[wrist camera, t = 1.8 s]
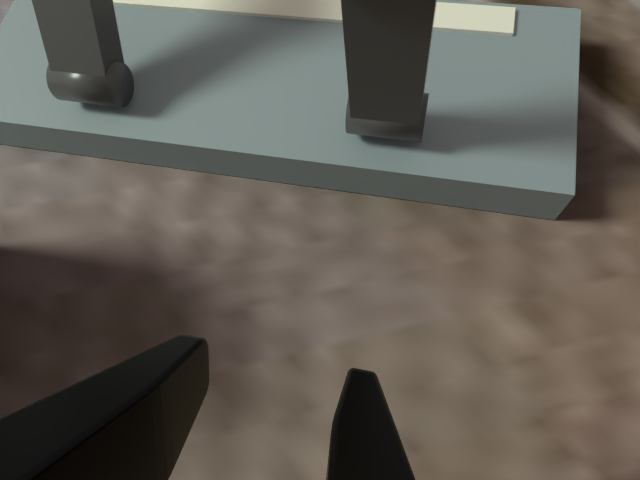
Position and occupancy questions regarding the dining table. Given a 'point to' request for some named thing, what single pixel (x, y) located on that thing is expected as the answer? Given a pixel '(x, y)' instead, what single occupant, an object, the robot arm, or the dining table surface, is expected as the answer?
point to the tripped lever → (387, 66)
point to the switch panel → (319, 101)
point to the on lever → (84, 52)
